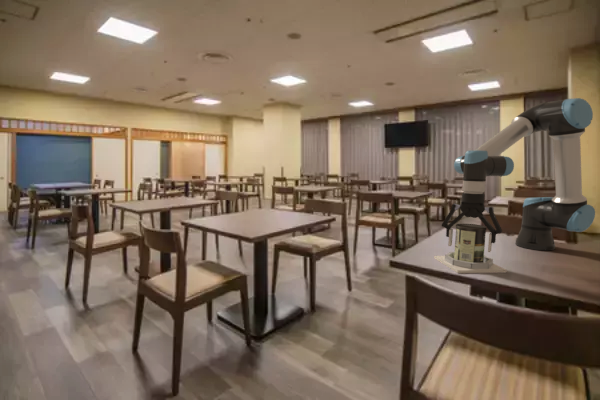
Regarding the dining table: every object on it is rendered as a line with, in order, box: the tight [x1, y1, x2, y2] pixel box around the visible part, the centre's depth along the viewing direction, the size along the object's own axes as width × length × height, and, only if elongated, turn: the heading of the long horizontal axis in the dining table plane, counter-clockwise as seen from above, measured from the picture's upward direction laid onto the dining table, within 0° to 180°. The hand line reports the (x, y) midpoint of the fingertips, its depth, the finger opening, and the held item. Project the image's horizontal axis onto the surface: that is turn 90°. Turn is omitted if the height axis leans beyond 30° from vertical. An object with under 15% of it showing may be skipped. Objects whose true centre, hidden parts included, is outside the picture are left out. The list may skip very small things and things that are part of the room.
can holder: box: [433, 251, 507, 274], centre depth 131 cm, size 18×18×3 cm
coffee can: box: [454, 223, 487, 263], centre depth 130 cm, size 10×10×14 cm
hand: (469, 248), depth 130 cm, fingers open, 13 cm apart
